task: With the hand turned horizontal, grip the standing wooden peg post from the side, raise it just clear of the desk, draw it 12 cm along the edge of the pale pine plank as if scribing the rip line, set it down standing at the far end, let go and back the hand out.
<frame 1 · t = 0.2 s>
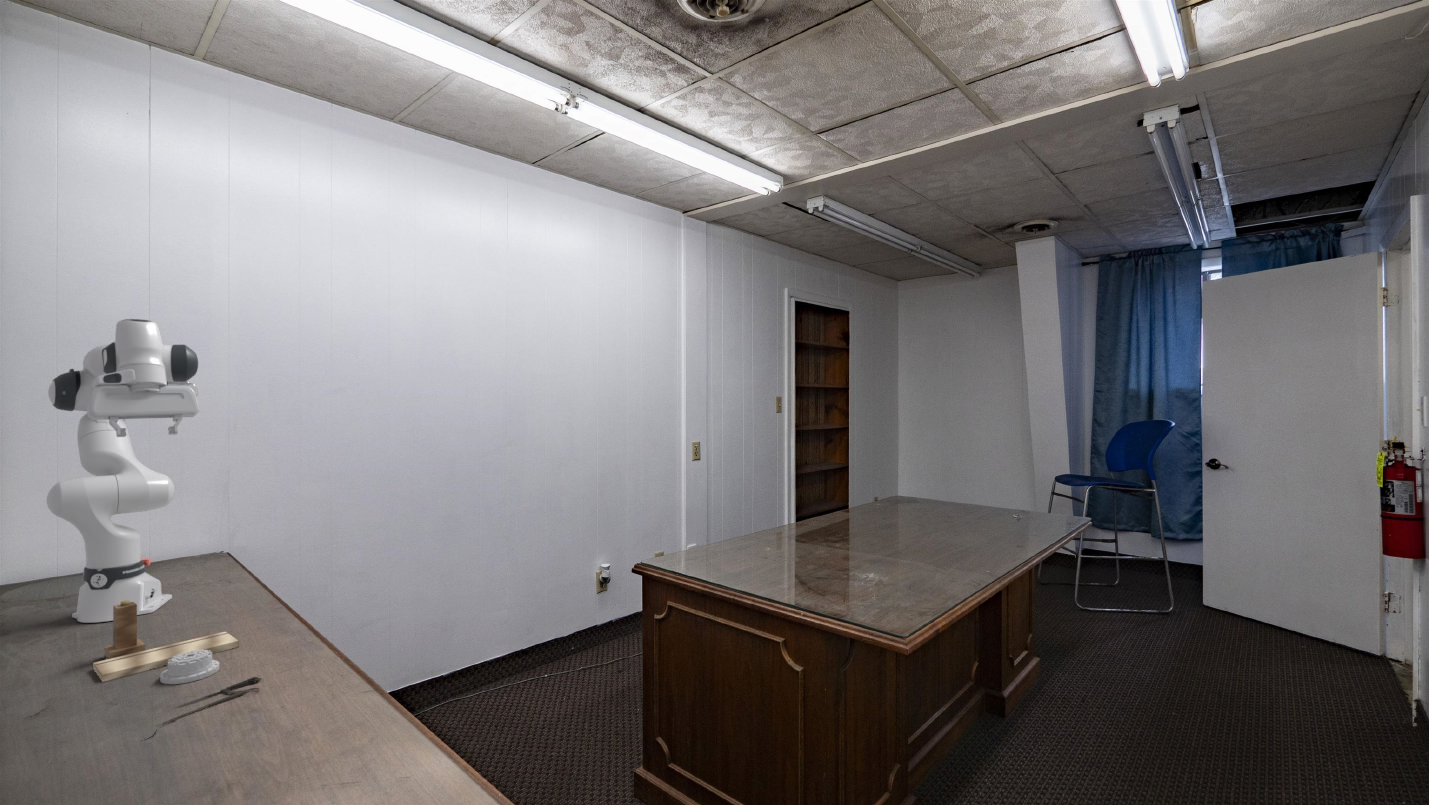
hand: (147, 435, 152), 52 cm above the table, tool tilted 20°, fingers open, 8 cm apart
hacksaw: (202, 711, 122), on the table
plank: (169, 657, 146), on the table
wooden peg post: (124, 656, 147), on the table
mechanical component: (190, 676, 137), on the table
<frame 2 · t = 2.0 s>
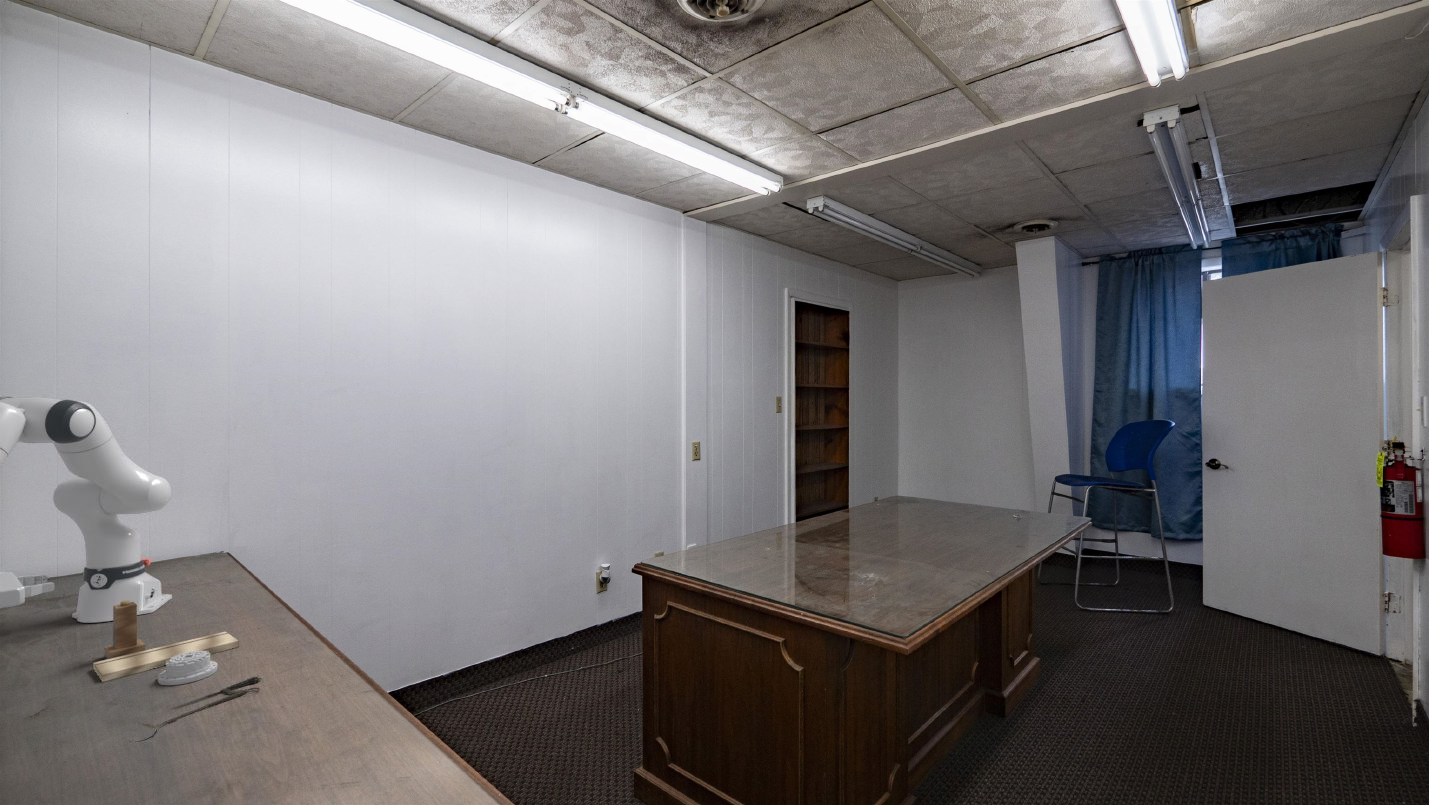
hand: (50, 582, 137), 20 cm above the table, tool horizontal, fingers open, 8 cm apart
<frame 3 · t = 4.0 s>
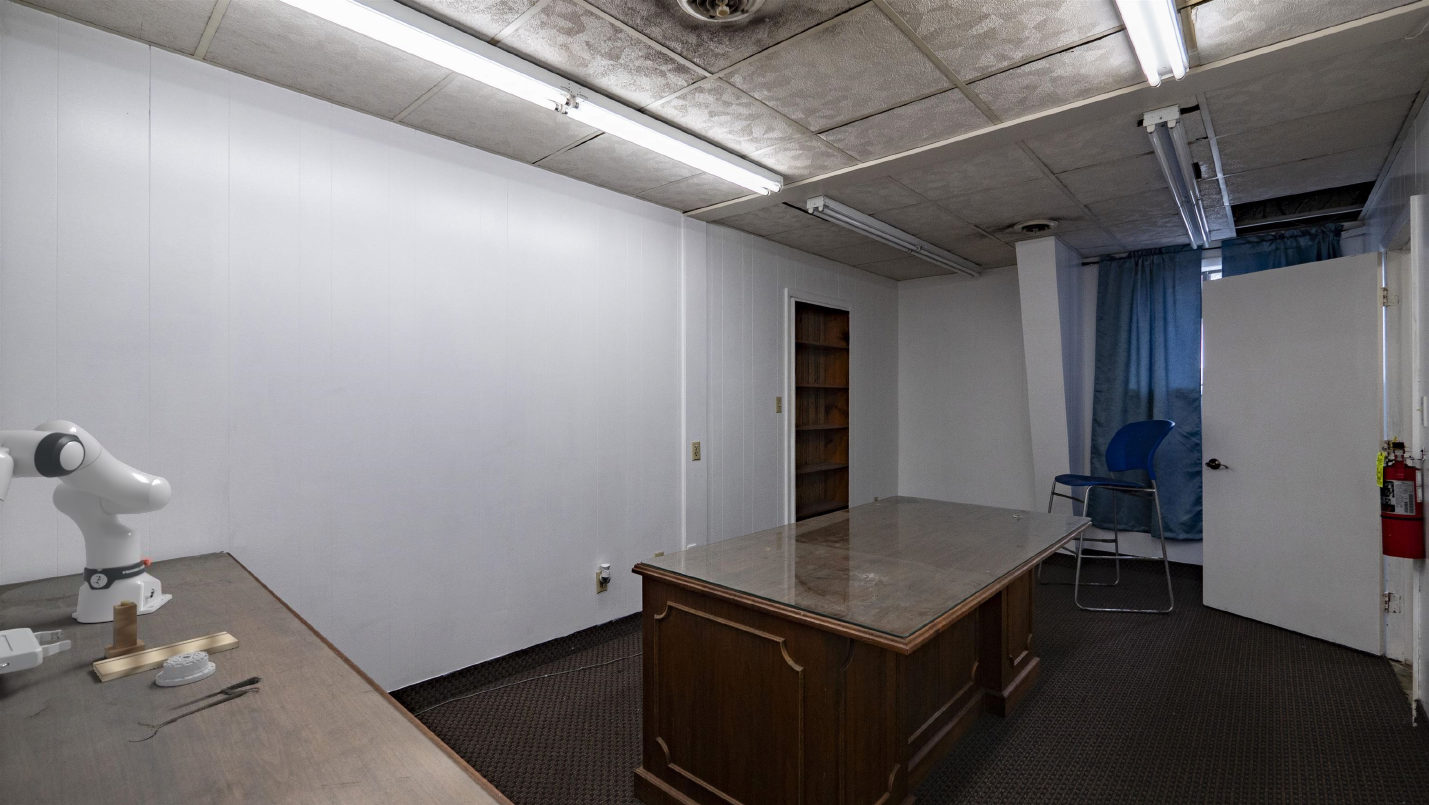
hand: (66, 638, 139), 7 cm above the table, tool horizontal, fingers open, 8 cm apart
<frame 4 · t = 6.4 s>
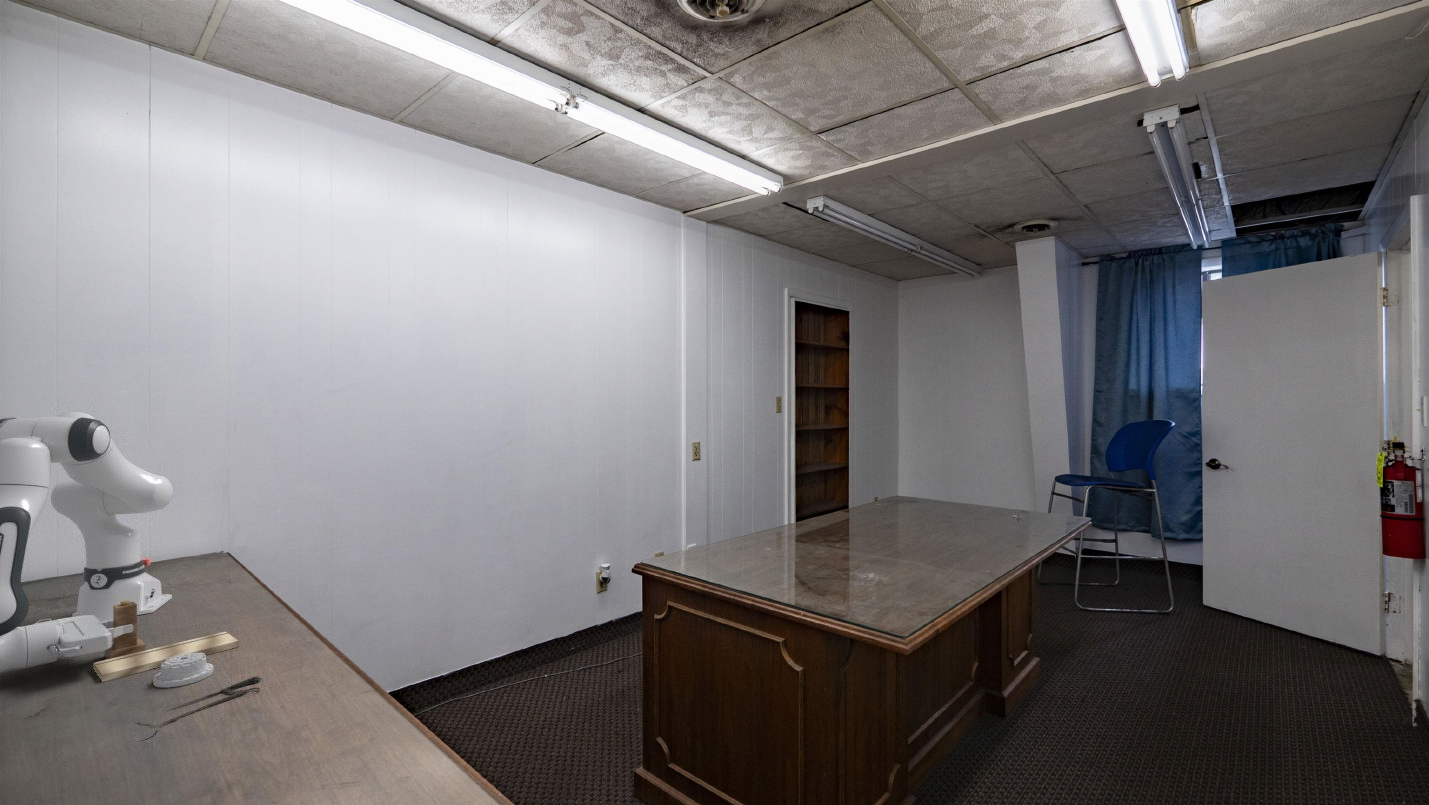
hand: (130, 624, 147), 7 cm above the table, tool horizontal, fingers closed on wooden peg post, 3 cm apart
wooden peg post: (124, 655, 147), on the table, touching gripper
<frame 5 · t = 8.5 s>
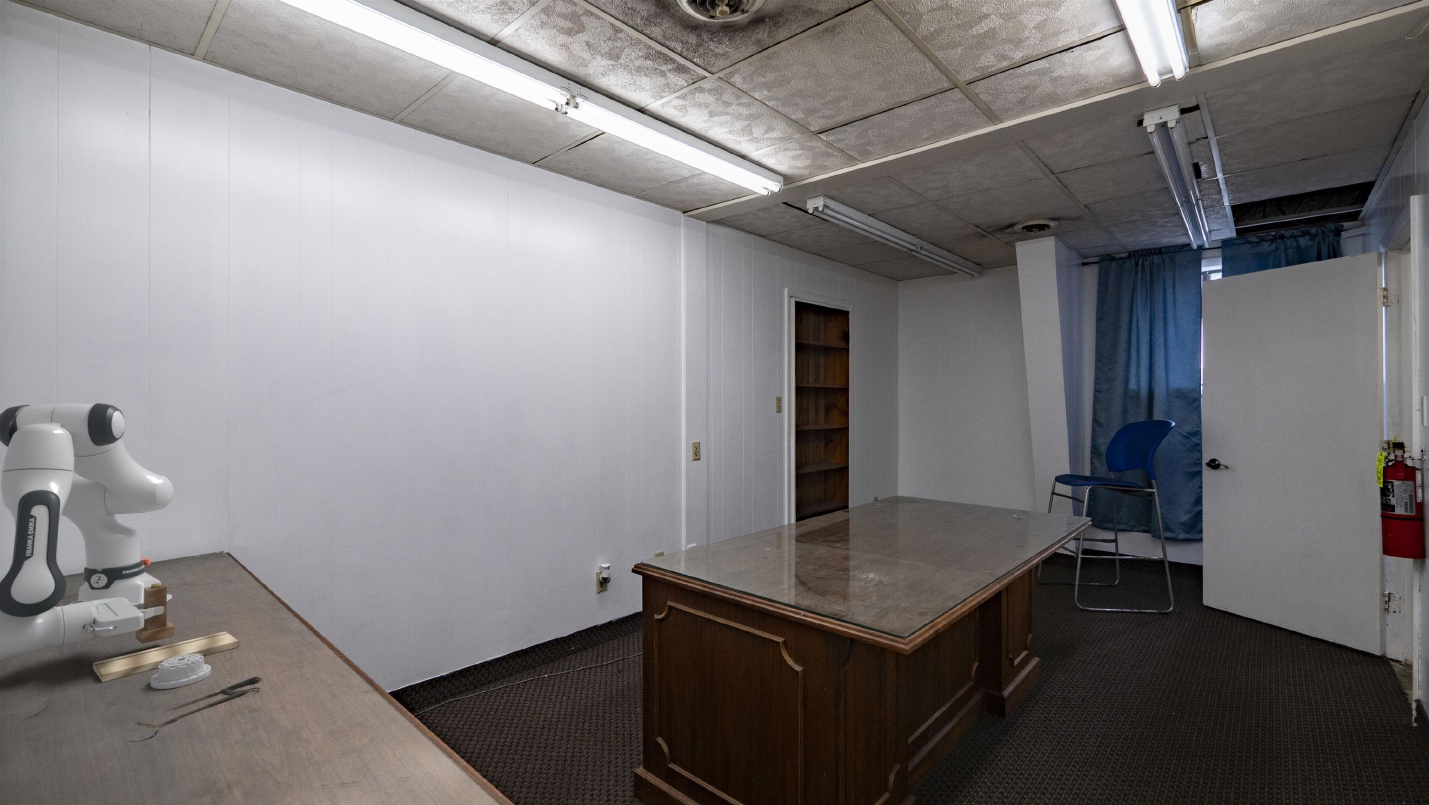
hand: (160, 607, 152), 10 cm above the table, tool horizontal, fingers closed on wooden peg post, 3 cm apart
wooden peg post: (155, 637, 151), point 3 cm above the table, touching gripper
when the fingers open (8 cm above the table, at t = 10.7 s): wooden peg post drops 1 cm, on the table.
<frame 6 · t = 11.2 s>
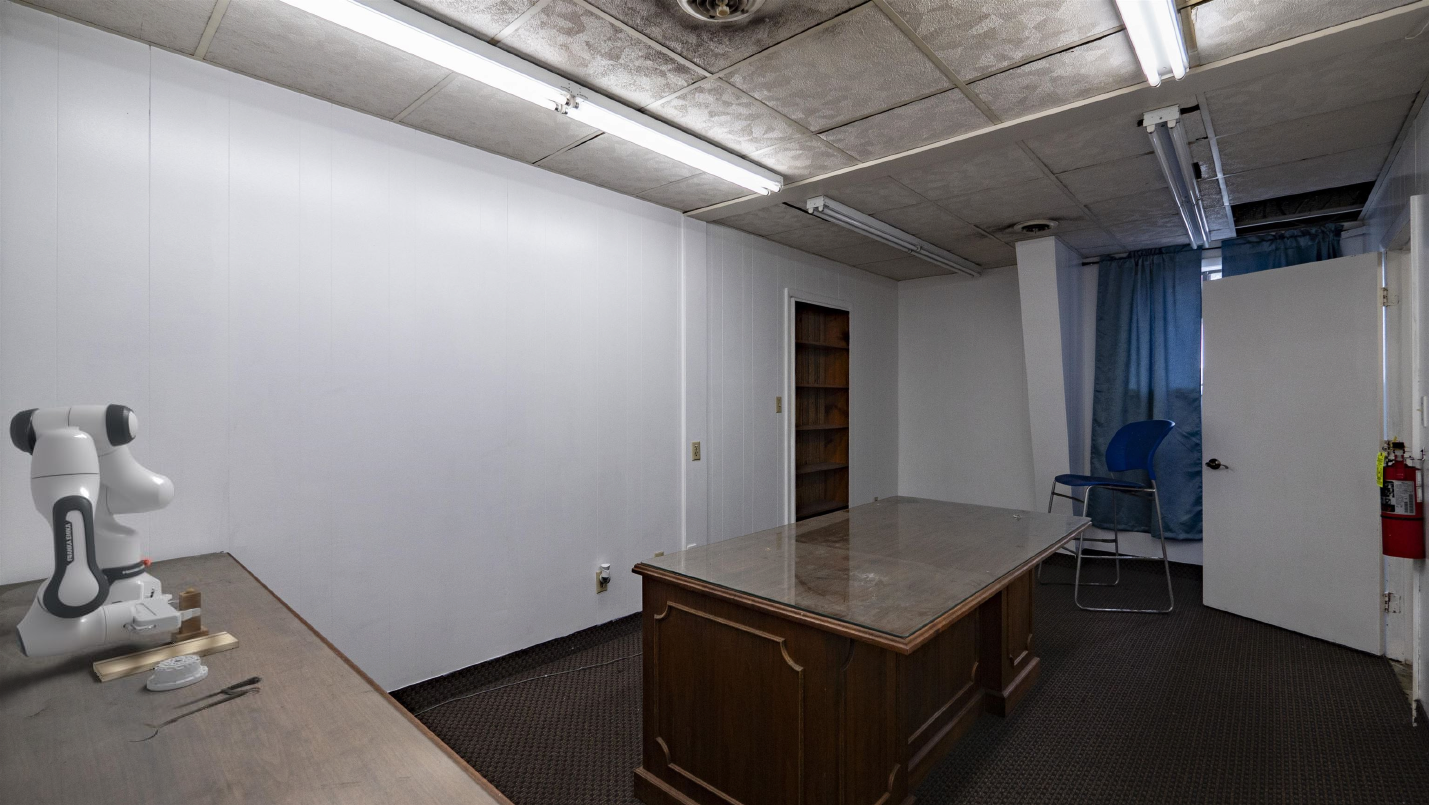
hand: (194, 606, 157), 8 cm above the table, tool horizontal, fingers open, 8 cm apart
wooden peg post: (189, 640, 156), on the table
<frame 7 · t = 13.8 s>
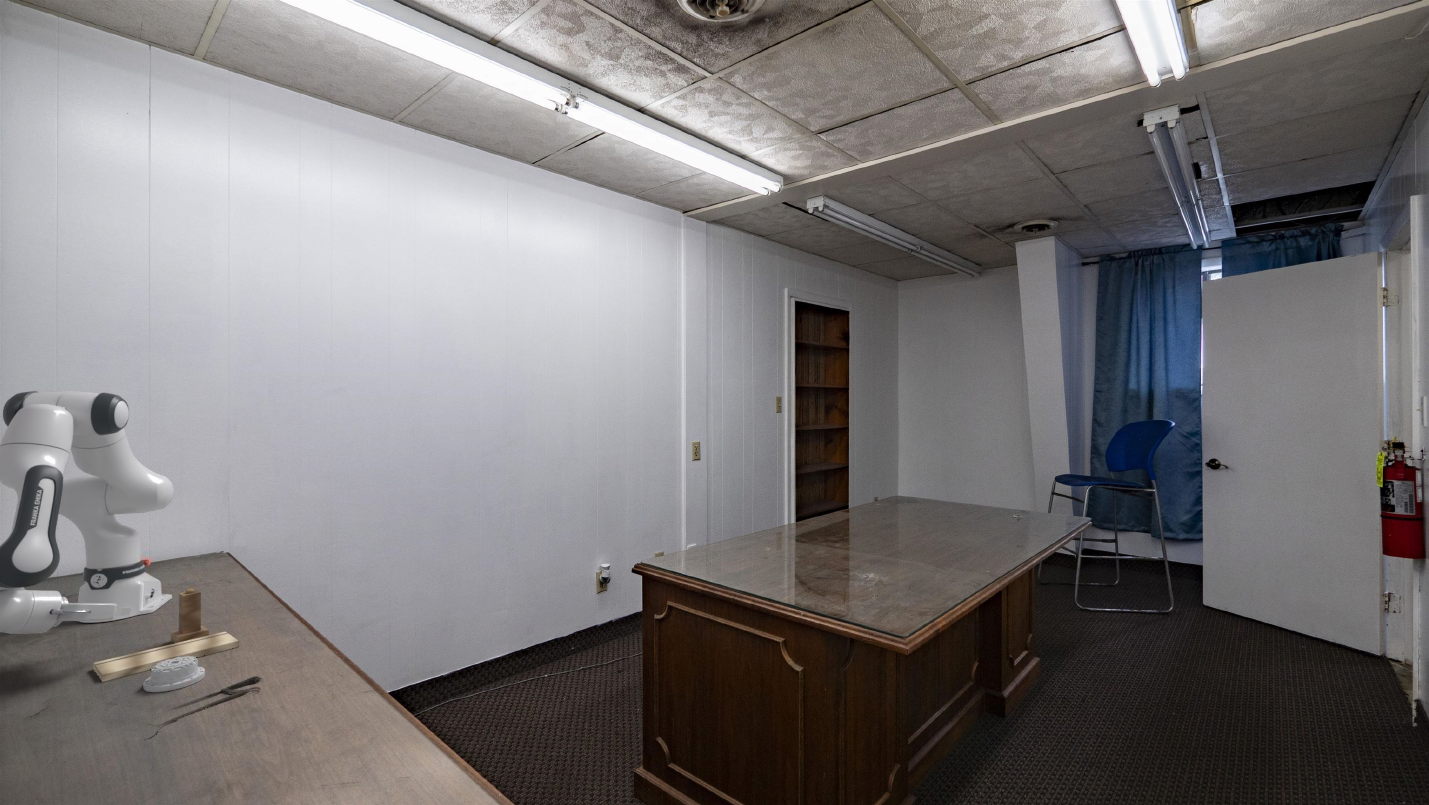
hand: (117, 611, 148), 10 cm above the table, tool tilted 75°, fingers open, 8 cm apart
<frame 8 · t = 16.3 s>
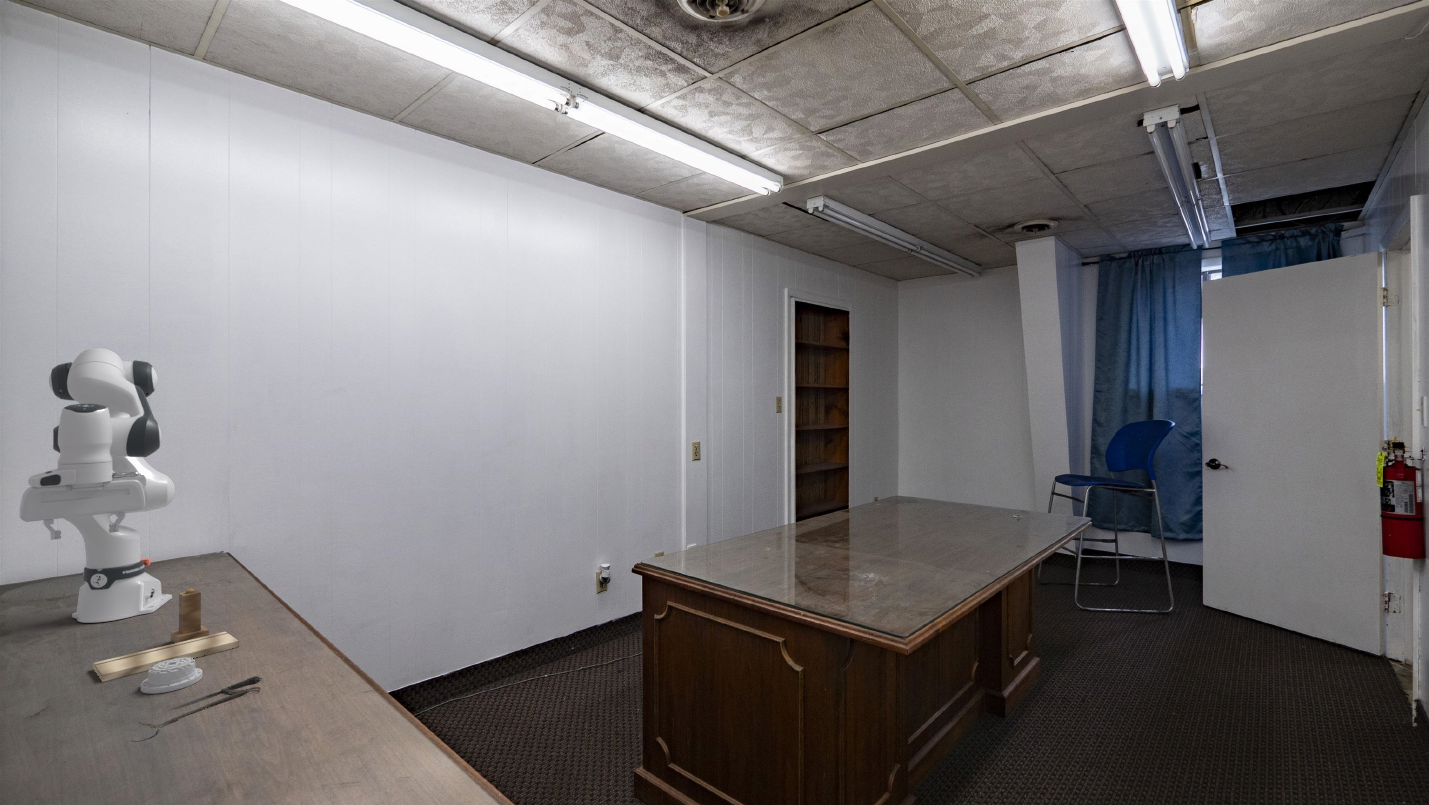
hand: (85, 535, 143), 29 cm above the table, tool pointing down, fingers open, 8 cm apart
at the end: wooden peg post inside the target area (0.0 cm from its centre), on the table; wooden peg post tilted 0°; the gripper is holding nothing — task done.
